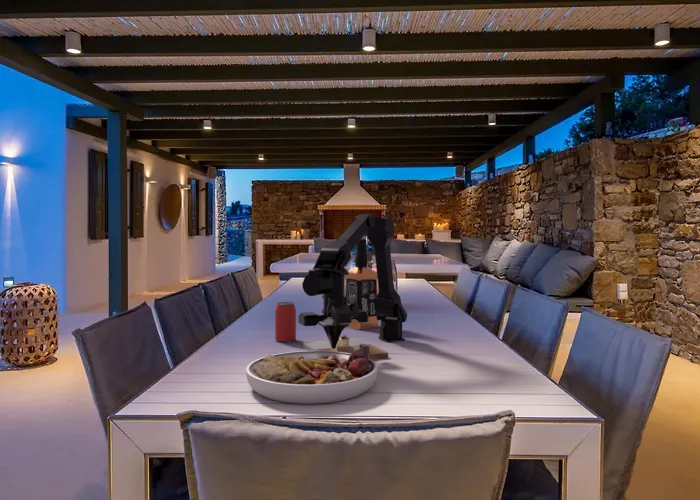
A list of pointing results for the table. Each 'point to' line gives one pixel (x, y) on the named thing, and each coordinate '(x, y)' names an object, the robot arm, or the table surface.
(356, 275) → the whiskey bottle
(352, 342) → the board
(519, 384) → the table surface
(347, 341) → the swing bar
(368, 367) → the bowl
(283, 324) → the beer can
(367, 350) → the door board
